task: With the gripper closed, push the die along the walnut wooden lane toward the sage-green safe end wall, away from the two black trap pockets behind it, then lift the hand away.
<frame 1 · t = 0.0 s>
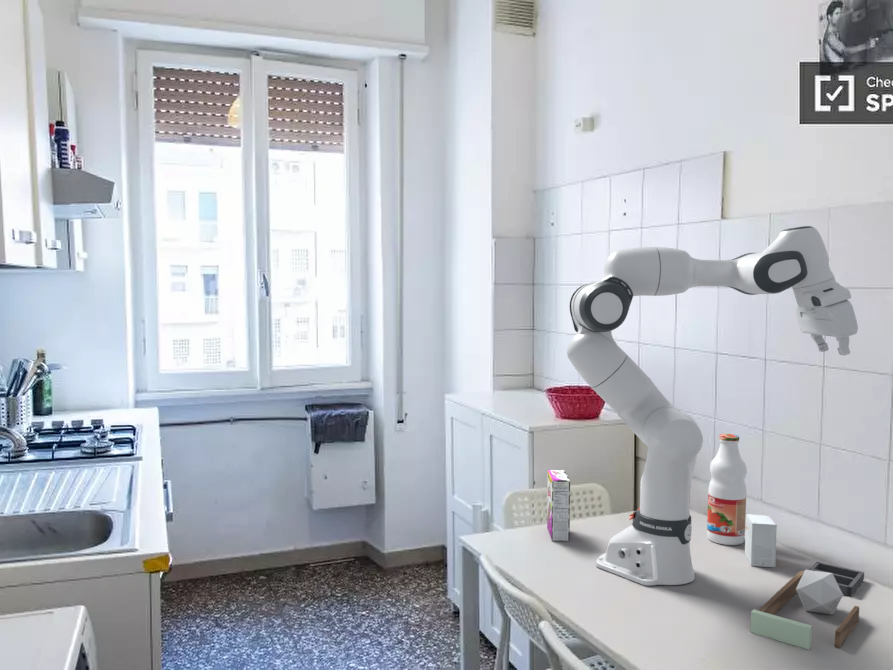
hand: (834, 352, 170), 52 cm above the table, tool tilted 20°, fingers open, 8 cm apart
small box: (759, 562, 182), on the table
lane walls: (816, 615, 152), on the table
die: (818, 610, 155), on the table
trap pockets: (833, 582, 169), on the table
fruit juice: (725, 540, 198), on the table
candy bar box: (557, 535, 200), on the table
safe end: (780, 639, 141), on the table
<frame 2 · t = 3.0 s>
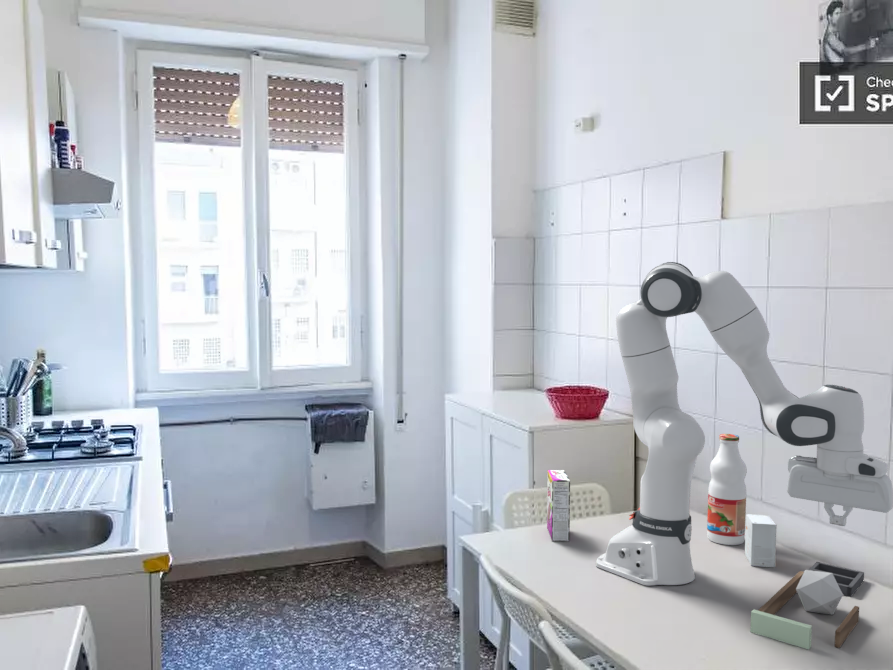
hand: (837, 524, 160), 16 cm above the table, tool pointing down, fingers closed
nothing on the table moved.
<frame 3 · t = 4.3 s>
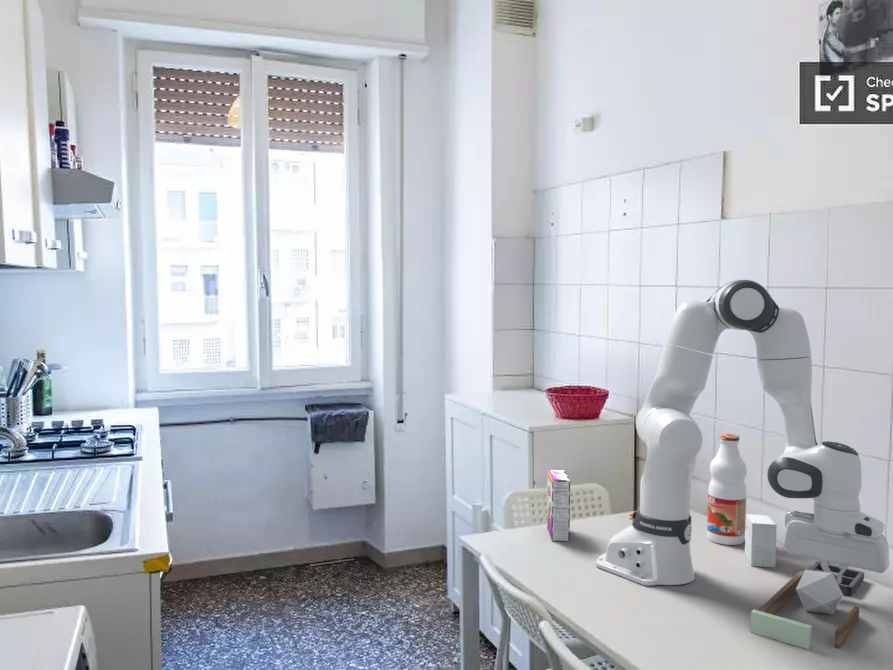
hand: (833, 581, 161), 3 cm above the table, tool pointing down, fingers closed
nothing on the table moved.
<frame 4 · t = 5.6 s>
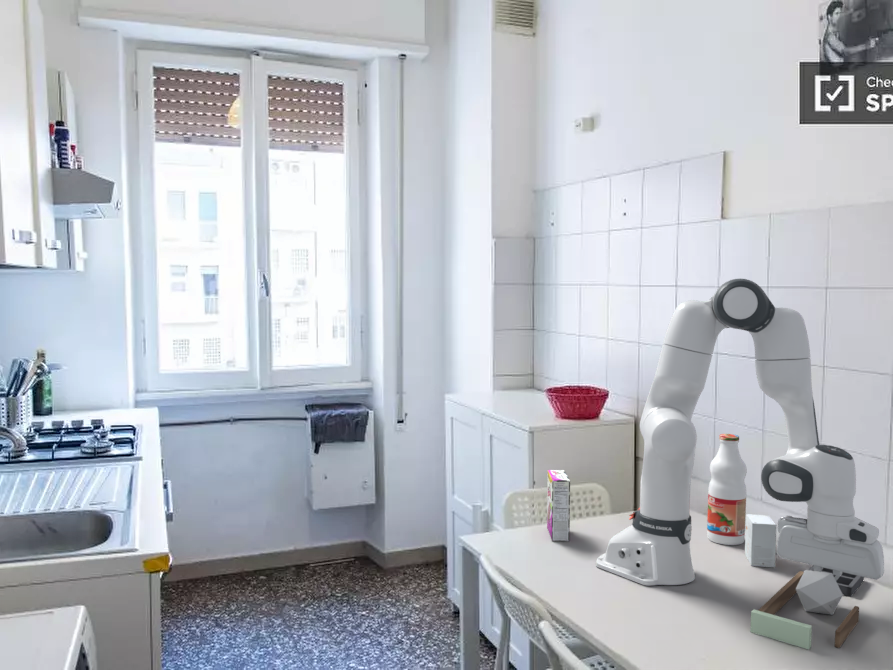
hand: (827, 588, 158), 3 cm above the table, tool pointing down, fingers closed
die: (817, 611, 154), on the table, touching gripper
everything else where it was.
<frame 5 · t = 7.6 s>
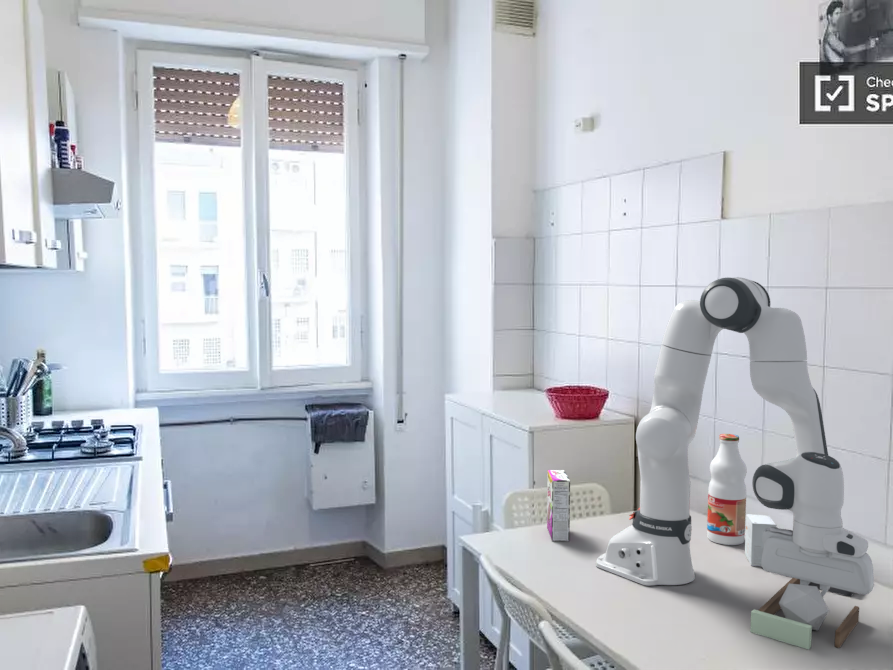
hand: (814, 603, 150), 3 cm above the table, tool pointing down, fingers closed, pressing on die
die: (802, 626, 147), on the table, touching gripper
everything else where it was.
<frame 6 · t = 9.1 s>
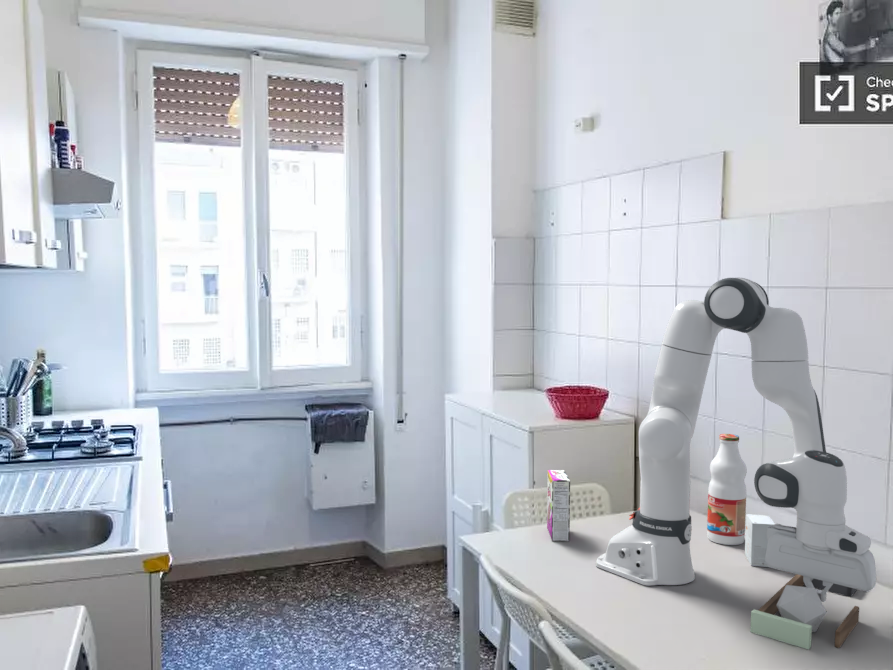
hand: (817, 599, 152), 3 cm above the table, tool pointing down, fingers closed
die: (800, 628, 146), on the table
everything else where it was.
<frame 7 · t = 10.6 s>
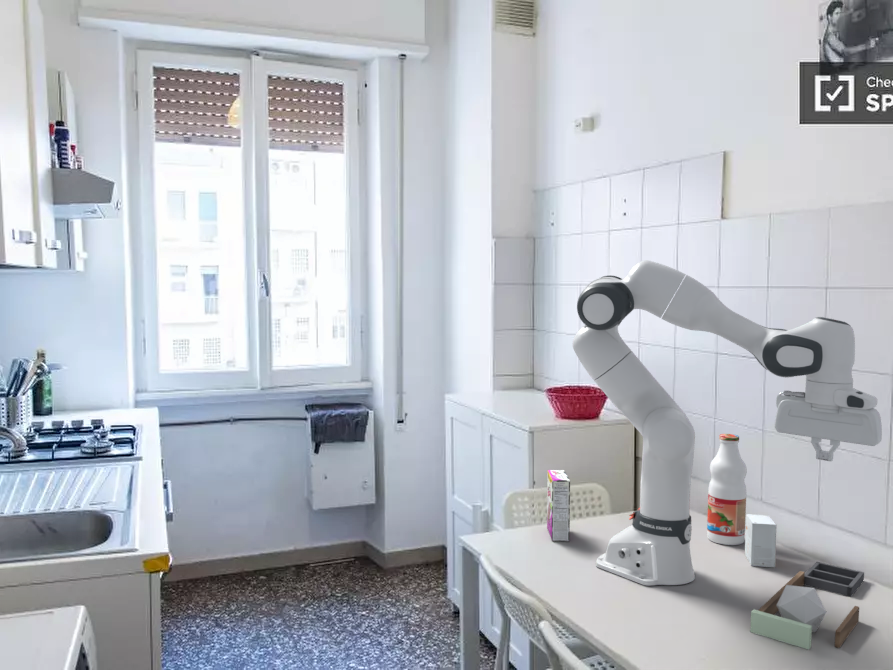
hand: (824, 459, 158), 30 cm above the table, tool pointing down, fingers closed
nothing on the table moved.
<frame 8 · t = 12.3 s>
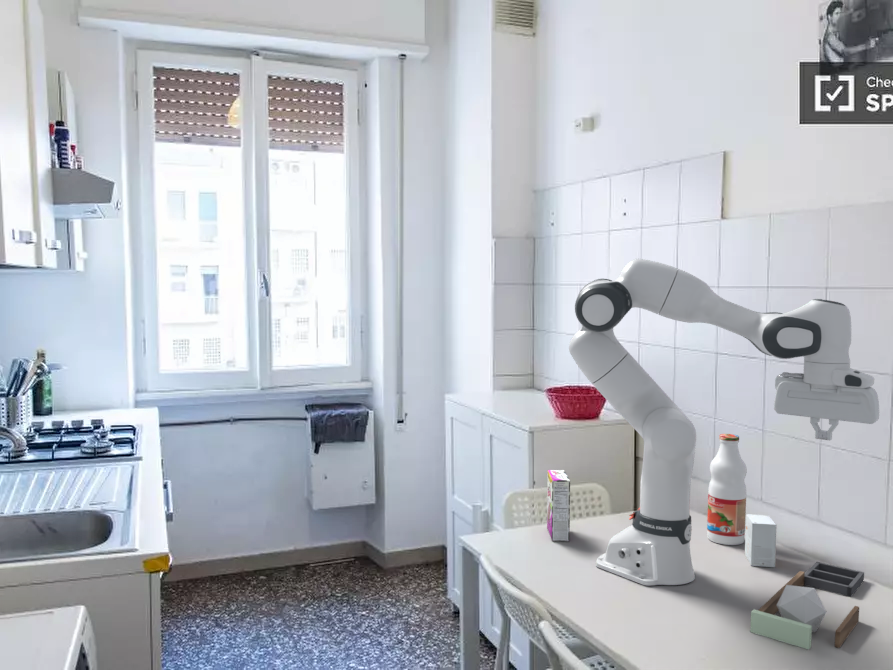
hand: (823, 439, 161), 34 cm above the table, tool pointing down, fingers closed
nothing on the table moved.
at the end: die inside the target area (1.9 cm from its centre), on the table; die tilted 2°; die moved 11.2 cm from its start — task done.
